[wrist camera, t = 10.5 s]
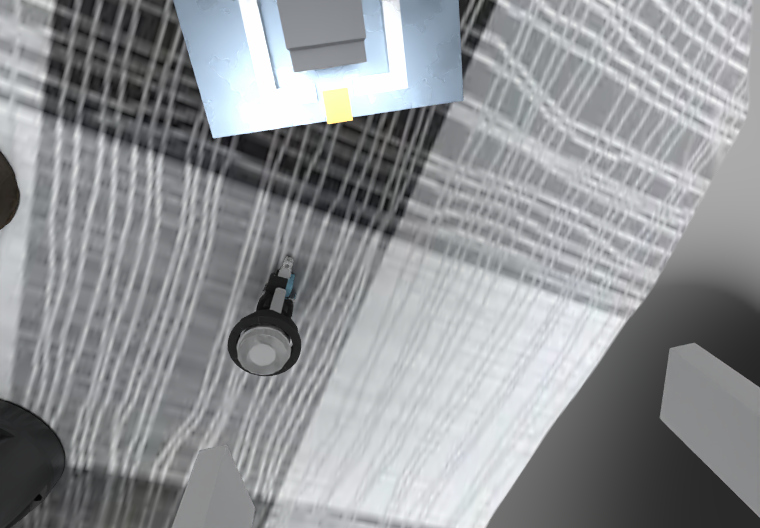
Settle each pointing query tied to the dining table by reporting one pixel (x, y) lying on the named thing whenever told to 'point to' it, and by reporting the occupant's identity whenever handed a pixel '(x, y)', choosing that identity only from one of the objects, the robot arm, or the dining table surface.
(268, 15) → the plate
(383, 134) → the dining table surface
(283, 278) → the push button
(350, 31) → the servo
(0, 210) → the pillar candle
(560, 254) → the dining table surface
